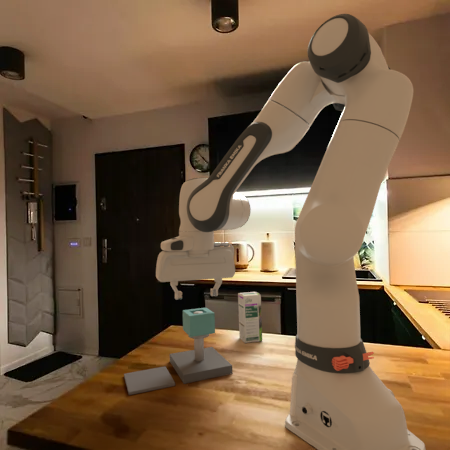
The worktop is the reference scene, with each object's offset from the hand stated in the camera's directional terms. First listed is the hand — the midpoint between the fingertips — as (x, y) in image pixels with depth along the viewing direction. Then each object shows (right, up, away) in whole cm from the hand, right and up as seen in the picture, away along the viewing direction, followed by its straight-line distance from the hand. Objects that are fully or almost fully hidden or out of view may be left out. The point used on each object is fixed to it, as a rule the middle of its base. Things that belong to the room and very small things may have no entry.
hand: (196, 297), depth 84 cm
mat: (-11, -18, -7) cm, 22 cm away
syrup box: (+15, -18, +20) cm, 30 cm away
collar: (0, -9, 0) cm, 9 cm away
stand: (+1, -18, 0) cm, 18 cm away
